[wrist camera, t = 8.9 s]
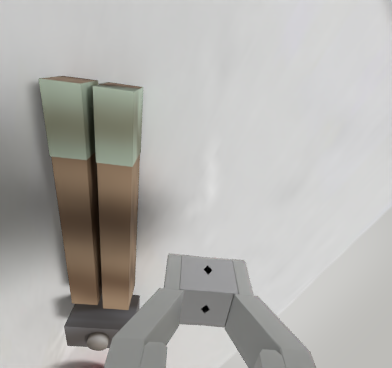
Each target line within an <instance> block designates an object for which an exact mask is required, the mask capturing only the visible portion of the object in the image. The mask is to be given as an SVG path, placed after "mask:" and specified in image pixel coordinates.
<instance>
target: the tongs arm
mask: <svg viewBox="0 0 392 368" xmlns="http://www.w3.org/2000/svg"><path fill="white" fill-rule="evenodd" d="M142 103H143V87H138V86H131V85H124V84H117V83H110V82H107V83H103V84H99V85H94V86H93V105H94V128H95V152H96V163H97V176H98V200H99V224H100V248H101V273H102V297H103V308H106V309H119V310H129V306H130V302H131V298H132V294H133V290H134V286H135V264H136V238H137V212H138V186H139V160H140V153H141V128H142Z"/></svg>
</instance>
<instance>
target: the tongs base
mask: <svg viewBox="0 0 392 368" xmlns="http://www.w3.org/2000/svg"><path fill="white" fill-rule="evenodd" d="M39 85H40V92H41V99H42V106H43V113H44V120H45V127H46V134H47V141H48V148H49V155H50V156H51V158H52V165H53V172H54V179H55V186H56V193H57V200H58V207H59V215H60V222H61V229H62V236H63V243H64V250H65V257H66V264H67V271H68V278H69V285H70V292H71V299H72V303H74V304H75V305H74V307H73V309H72V311H71V313H70V316H69V318H68V320H67V322H66V324H65V326H64V328H65V334H66V340H67V346H83V347H89V348H90V349H92V350H97V351H101V350H104V349H106V348H110V345H111V342H112V338H113V337H114V336H115V335H116V334H117V333H118V332H119V331H120V329H121V328H122V327H123V326H124V325H125V324H126V323H127V322H128V321H129V320H130V319H131V318H132V317H133V316H134V315H135V314H136V313H137V312H138V311H139V298H140V296H135V295H132V298H131V302H130V306H129V310H119V309H106V308H103V297H102V273H101V248H100V224H99V200H98V176H97V163H96V152H95V128H94V105H93V86H94V85H98V80H90V79H82V78H74V77H66V76H58V77H49V78H39Z"/></svg>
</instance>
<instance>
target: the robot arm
mask: <svg viewBox="0 0 392 368" xmlns="http://www.w3.org/2000/svg"><path fill="white" fill-rule="evenodd" d="M179 324H187V325H205V326H215V327H225V330H226V332H227V333H228V335H229V337H230V338H231V340H232V341H233V343H234V345H235V346H236V348H237V350H238V351H239V353H240V355H241V356H242V358H243V360H244V361H245V363H246V364H247V366H248V368H316V366H315V363H314V361H313V358H312V356H311V353H310V351H309V350H308V349H307V348H306V347H305V346H304V345H303V344H302V343H301V341H300V340H299V339H298V338H297V337H296V336H295V335H294V334H293V333H292V332H291V331H290V330H289V329H288V328H287V327H286V326H285V324H284V323H283V322H282V321H281V320H280V319H279V318H278V317H277V316H276V315H275V314H274V313H273V312H272V311H271V310H270V308H269V307H268V306H267V305H266V304H265V303H264V302H263V301H262V300H261V299H260V298H259V297H258V296H254V294H253V290H252V286H251V282H250V278H249V274H248V270H247V266H246V262H245V261H244V260H236V259H223V258H210V257H199V256H190V255H182V256H181V255H178V254H170V253H169V255H168V259H167V267H166V274H165V282H164V288H159V289H158V291H157V292H156V293H155V294H154V295H153V296H152V297H151V298H150V299H149V300H148V301H147V302H146V303H145V304H144V305H143V306H142V307H141V308H140V309H139V311H138V312H137V313H136V314H135V315H134V316H133V317H132V318H131V319H130V320H129V321H128V322H127V323H126V324H125V325H124V326H123V327H122V328H121V329H120V331H119V332H118V333H117V334H116V335H115V336H114V337H113V338H112V342H111V345H110V349H109V352H108V355H107V359H106V362H105V366H104V368H166V357H167V347H166V345H167V343H168V342H169V340H170V339H171V337H172V336H173V334H174V333H175V331H176V330H177V328H178V326H179Z"/></svg>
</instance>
